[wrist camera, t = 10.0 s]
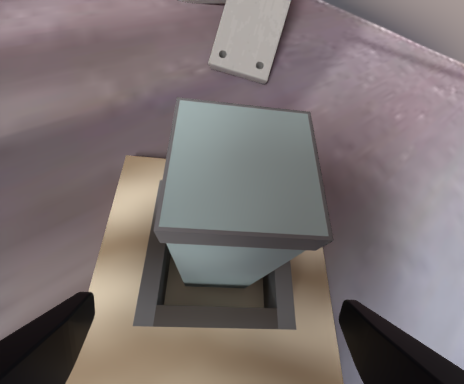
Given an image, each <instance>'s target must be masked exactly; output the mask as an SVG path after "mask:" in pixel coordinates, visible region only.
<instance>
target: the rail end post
mask: <svg viewBox="0 0 464 384" xmlns="http://www.w3.org/2000/svg"><path fill="white" fill-rule="evenodd" d="M153 231H154V233H155V235H156V237H157V238H158V240H159V242H160V243H166V244H167V246H168V249H169V251H170V253H171V255H172V258H173V260H174V262H175V264H176V267H177V269H178V271H179V273H180V275H181V278H182V280H183V282H184V284H185V286H190V287H220V288H246V287H248V286H249V285H251V284H253V283H254V282H256V281H257V280H259V279H261V278H262V277H264V276H266V275H267V274H269V273H270V272H272V271H274V270H275V269H277V268H278V267H280V266H282V265H283V264H285V263H287V262H288V261H290V260H291V259H293V258H295V257H296V256H298V255H299V254H301V253H303V252H304V251H306V250H311V251H316V250H318V249H320V248H321V247H323V246H325V245H327V244H328V243H330V242H332V241H333V236H332V230H331V224H330V219H329V213H328V208H327V202H326V197H325V191H324V186H323V180H322V174H321V169H320V163H319V158H318V152H317V147H316V141H315V136H314V130H313V124H312V119H311V113H310V112H306V111H297V110H288V109H279V108H270V107H261V106H252V105H242V104H233V103H224V102H215V101H206V100H197V99H188V98H179V97H177V100H176V105H175V111H174V117H173V122H172V128H171V134H170V139H169V145H168V151H167V156H166V162H165V168H164V174H163V179H162V185H161V191H160V196H159V202H158V208H157V213H156V219H155V225H154V230H153Z"/></svg>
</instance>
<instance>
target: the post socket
mask: <svg viewBox="0 0 464 384" xmlns="http://www.w3.org/2000/svg"><path fill="white" fill-rule="evenodd" d="M165 162H166V159H161V158H150V157H138V156H127V155H126V158H125V162H124V165H123V169H122V172H121V176H120V180H119V183H118V187H117V190H116V194H115V198H114V201H113V205H112V209H111V212H110V216H109V219H108V223H107V227H106V230H105V234H104V237H103V241H102V245H101V248H100V252H99V255H98V259H97V263H96V266H95V270H94V274H93V277H92V281H91V284H90V288H89V292H92V293H93V294H94V303H95V316H94V320H93V322H92V325H91V327H90V329H89V332H88V334H87V337H86V339H85V342H84V344H83V346H82V349H81V351H80V354H79V356H78V359H77V361H76V363H75V365H74V368H73V370H72V372H71V374H70V376H69V378H68V380H67V381H66V383H65V384H343V377H342V371H341V364H340V358H339V351H338V345H337V338H336V332H335V325H334V319H333V312H332V305H331V299H330V292H329V286H328V279H327V273H326V266H325V260H324V253H323V247H321V248H320V249H318V250H316V251H311V250H306V251H304V252H303V253H301V254H299V255H298V256H296V257H295V258H293V259H291V260H290V261H288V262H287V263H285V264H283V265H282V266H280V267H278V268H277V269H275V270H274V271H272V272H270V273H269V274H267V275H266V276H264V277H262V278H261V279H259V280H257V281H256V282H254V283H253V284H251V285H249V286H248V287H246V288H220V287H190V286H185V284H184V282H183V280H182V278H181V275H180V273H179V271H178V269H177V267H176V264H175V262H174V260H173V258H172V255H171V253H170V251H169V249H168V246H167V244H166V243H160V242H159V240H158V238H157V237H156V235H155V233H154V231H153V230H154V225H155V219H156V213H157V208H158V202H159V196H160V191H161V185H162V179H163V174H164V168H165Z"/></svg>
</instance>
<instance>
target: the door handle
mask: <svg viewBox="0 0 464 384" xmlns="http://www.w3.org/2000/svg"><path fill="white" fill-rule="evenodd" d="M178 1H182V2H188V3H197V4H207V3H225V7H224V10H223V14H222V17H221V21H220V24H219V28H218V31H217V34H216V38H215V41H214V45H213V48H212V52H211V55H210V59H209V62H208V64H209V66H210V68H211V69H213V70H216V71H220V72H223V73H227V74H230V75H233V76H237V77H240V78H244V79H247V80H250V81H254V82H257V83H261V84H265V83H266V82H267V80H268V77H269V73H270V70H271V67H272V63H273V60H274V57H275V53H276V50H277V46H278V43H279V40H280V36H281V33H282V30H283V26H284V23H285V19H286V16H287V13H288V9H289V6H290V3H291V0H178Z"/></svg>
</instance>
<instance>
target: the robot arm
mask: <svg viewBox="0 0 464 384" xmlns="http://www.w3.org/2000/svg"><path fill="white" fill-rule="evenodd" d="M94 316H95V303H94V294H93V293H92V292H79V293H77V294H75V295H74V296H72V297H70V298H69V299H67V300H65V301H64V302H62V303H61V304H59V305H57V306H56V307H54V308H52V309H51V310H49V311H48V312H46V313H44V314H43V315H41V316H39V317H38V318H36V319H35V320H33V321H31V322H30V323H28V324H26V325H25V326H23V327H22V328H20V329H18V330H17V331H15V332H13V333H12V334H10V335H9V336H7V337H5V338H4V339H2V340H0V384H65V383H66V381H67V380H68V378H69V376H70V374H71V372H72V370H73V368H74V365H75V363H76V361H77V359H78V356H79V354H80V351H81V349H82V346H83V344H84V342H85V339H86V337H87V334H88V332H89V329H90V327H91V325H92V322H93V320H94ZM339 324H340V327H341V329H342V332H343V334H344V337H345V340H346V342H347V345H348V348H349V350H350V353H351V356H352V358H353V361H354V363H355V366H356V368H357V370H358V373H359V375H360V377H361V379H362V381H363V383H364V384H464V370H462V369H461V368H459V367H458V366H456V365H455V364H453V363H452V362H450V361H449V360H447V359H446V358H444V357H442V356H441V355H439V354H438V353H436V352H435V351H433V350H432V349H430V348H429V347H427V346H426V345H424V344H423V343H421V342H419V341H418V340H416V339H415V338H413V337H412V336H410V335H409V334H407V333H406V332H404V331H403V330H401V329H399V328H398V327H396V326H395V325H393V324H392V323H390V322H389V321H387V320H386V319H384V318H383V317H381V316H379V315H378V314H376V313H375V312H373V311H372V310H370V309H369V308H367V307H366V306H364V305H363V304H361V303H360V302H358V301H356V300H345V301H344V302H343V304H342V308H341V311H340V315H339Z"/></svg>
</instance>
